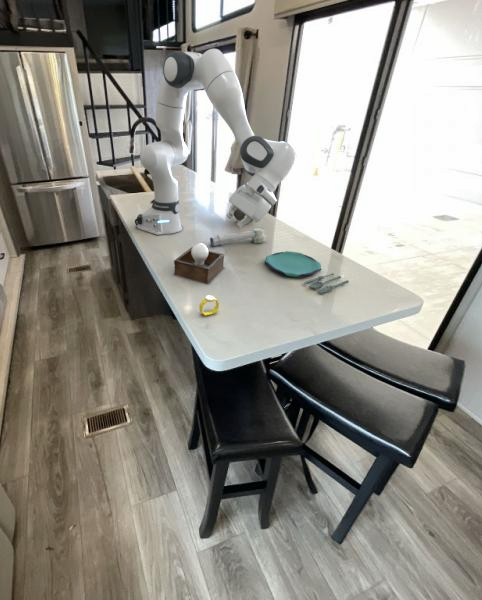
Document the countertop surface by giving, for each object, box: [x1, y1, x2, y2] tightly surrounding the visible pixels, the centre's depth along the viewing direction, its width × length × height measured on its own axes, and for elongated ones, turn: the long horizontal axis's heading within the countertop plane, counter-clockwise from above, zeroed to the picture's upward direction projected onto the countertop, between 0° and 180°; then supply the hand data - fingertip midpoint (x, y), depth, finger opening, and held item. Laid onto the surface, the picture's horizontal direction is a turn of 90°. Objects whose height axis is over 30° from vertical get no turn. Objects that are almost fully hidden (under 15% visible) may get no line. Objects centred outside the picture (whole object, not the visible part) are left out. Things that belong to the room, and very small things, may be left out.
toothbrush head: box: [209, 227, 267, 248], centre depth 141 cm, size 5×7×25 cm
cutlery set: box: [264, 250, 350, 294], centre depth 119 cm, size 20×30×2 cm, turn 28°
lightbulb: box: [191, 243, 210, 267], centre depth 116 cm, size 6×6×11 cm
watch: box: [198, 294, 220, 316], centre depth 95 cm, size 6×3×6 cm, turn 114°
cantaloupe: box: [233, 209, 254, 223], centre depth 160 cm, size 14×14×15 cm
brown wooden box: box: [173, 246, 225, 285], centre depth 118 cm, size 14×14×6 cm
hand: (233, 222), depth 113 cm, fingers open, 8 cm apart
